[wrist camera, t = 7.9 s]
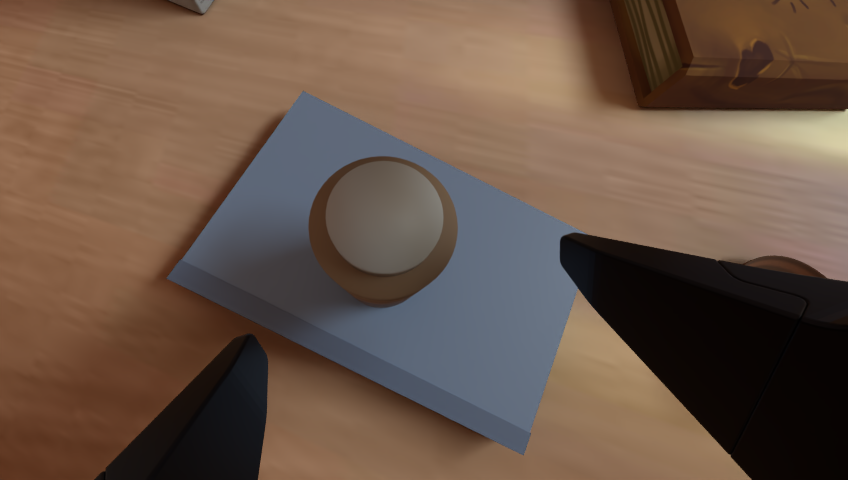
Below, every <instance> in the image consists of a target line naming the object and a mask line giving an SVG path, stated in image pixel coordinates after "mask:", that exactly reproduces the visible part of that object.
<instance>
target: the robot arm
mask: <svg viewBox="0 0 848 480" xmlns="http://www.w3.org/2000/svg"><path fill="white" fill-rule="evenodd" d="M560 263H561V265H562V267H563V269H564V270H565V271H566V273H567V274H568V275H569V277H570V278H571V279H572V281H573V282H574V283H575V285H576V286H577V287H578V289H579V290H580V291H581V293H582V294H583V295H584V297H585V298H586V299H587V301H588V302H589V303H590V304H591V306H592V307H593V308H594V309H595V310H596V311H597V312H598V314H599V315H600V316H601V317H602V318H603V319H604V320H605V321H606V322H607V323H608V324H609V325H610V327H611V328H612V329H613V330H614V331H615V332H616V333H617V334H618V335H619V336H620V337H621V338H622V340H623V341H624V342H625V343H626V344H627V345H628V346H629V347H630V348H631V349H632V350H633V351H634V352H635V354H636V355H637V356H638V357H639V358H640V359H641V360H642V361H643V362H644V363H645V364H646V365H647V367H648V368H649V369H650V370H651V371H652V372H653V373H654V374H655V375H656V376H657V377H658V378H659V380H660V381H661V382H662V383H663V384H664V385H665V386H666V387H667V388H668V389H669V390H670V391H671V392H672V394H673V395H674V396H675V397H676V398H677V399H678V400H679V401H680V402H681V403H682V404H683V405H684V407H685V408H686V409H687V410H688V411H689V412H690V413H691V414H692V415H693V416H694V417H695V418H696V420H697V421H698V422H699V423H700V424H701V425H702V426H703V427H704V428H705V429H706V430H707V431H708V432H709V434H710V435H711V436H712V437H713V438H714V439H715V440H716V441H717V442H718V443H719V444H720V445H721V447H722V448H723V449H724V450H725V451H726V452H727V453H728V454H730V455H731V458H732V459H733V460H734V461H735V462H736V463H737V464H738V465H739V466H740V467H741V468H742V470H743V471H744V472H745V473H746V474H747V475H748V476H749V477H750V478H751V479H752V480H848V282H846V281H840V280H833V279H827V278H820V277H813V276H807V275H800V274H794V273H788V272H782V271H775V270H769V269H763V268H758V267H752V266H747V265H742V264H736V263H731V262H726V261H721V260H719V261H716V260H715V259H710V258H705V257H700V256H695V255H690V254H684V253H679V252H674V251H669V250H664V249H659V248H654V247H649V246H643V245H638V244H633V243H628V242H623V241H618V240H613V239H607V238H602V237H597V236H592V235H587V234H582V233H577V232H573V233H570V234H567V235H563V236H562V237H561V239H560ZM267 384H268V358H267V355H266V353H265V351H264V350H263V348H262V347H261V345H260V344H259V342H258V340H257V339H256V337H255V336H254V335H253V334H246V335H243V336H239V337H236V338H234V339H233V340H232V341H231V342H230V343H229V344H228V345H227V346H226V347H225V348H224V349H223V350H222V351H221V352H220V353H219V354H218V355H217V356H216V357H215V358H214V359H213V360H212V361H211V362H210V363H209V364H208V365H207V366H206V367H205V368H204V369H203V370H202V371H201V373H200V374H199V375H198V376H197V377H196V378H195V379H194V380H193V381H192V382H191V383H190V384H189V385H188V386H187V387H186V388H185V389H184V390H183V391H182V392H181V393H180V394H179V395H178V396H177V397H176V398H175V399H174V400H173V401H172V402H171V403H170V404H169V405H168V406H167V407H166V408H165V409H164V410H163V411H162V412H161V413H160V414H159V415H158V416H157V417H156V418H155V419H154V420H153V421H152V422H151V423H150V424H149V425H148V426H147V427H146V428H145V429H144V430H143V431H142V432H141V433H140V434H139V435H138V436H137V437H136V438H135V439H134V440H133V441H132V442H131V443H130V444H129V445H128V446H127V447H126V448H125V449H124V450H123V451H122V452H121V453H120V454H119V455H118V456H117V457H116V458H115V459H114V460H113V461H112V462H111V463H110V464H109V465H108V466H107V467H106V471H103V472H101V473H100V474H99V475H98V476H97V477H96V478H95V479H94V480H258V474H259V467H260V460H261V453H262V446H263V439H264V432H265V425H266V415H267Z"/></svg>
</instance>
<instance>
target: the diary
mask: <svg viewBox="0 0 848 480" xmlns="http://www.w3.org/2000/svg"><path fill="white" fill-rule="evenodd" d="M610 3H611V7H612V10H613V14H614V18H615V22H616V25H617V29H618V33H619V36H620V40H621V44H622V48H623V51H624V55H625V59H626V62H627V66H628V70H629V74H630V77H631V81H632V85H633V88H634V92H635V96H636V100H637V103H638V106H643V107H707V108H804V109H848V0H610Z"/></svg>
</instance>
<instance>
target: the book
mask: <svg viewBox="0 0 848 480" xmlns="http://www.w3.org/2000/svg"><path fill="white" fill-rule="evenodd" d="M376 156H390V157H397V158H401V159H405V160H408V161H411V162H413V163H416V164H417V165H419V166H421V167H423V168H425V169H426V170H427V171H429V172H430V173H431V174H433V175H434V176H435V177H436V178H437V179H438V180H439V181H440V182H441V184H442V185H443V186H444V187H445V189H446V190H447V192H448V193H449V195H450V197H451V200H452V202H453V204H454V207H455V210H456V215H457V222H458V234H457V241H456V246H455V249H454V252H453V255H452V257H451V259H450V261H449V263H448V264H447V266H446V267H445V269H444V270H443V271H442V272H441V274H440V275H439V276H438V277H437V278H436V279H435V280H433V281H432V282H431V283H430V284H429V285H427V286H426V287H424V288H423V289H421V290H420V291H419V292H417V293H416V294H414V295H413V296H412V297H410V298H409V299H407V300H406V301H404V302H403V303H401V304H398V305H396V306H392V307H387V308H377V307H371V306H368V305H365V304H363V303H361V302H360V301H358V300H357V299H355V298H354V297H353V296H352V295H351V294H349V293H348V292H347V291H346V290H345V289H343V288H342V287H341V286H340V285H338V284H337V283H336V282H335V281H334V280H333V279H332V278H331V277H330V276H329V275H327V274H326V272H325V271H324V270H323V268H322V267H321V266H320V264H319V262H318V261H317V259H316V257H315V255H314V252H313V250H312V247H311V243H310V239H309V230H308V226H309V215H310V210H311V207H312V204H313V201H314V199H315V197H316V195H317V193H318V191H319V190H320V188H321V187H322V185H323V184H324V183H325V182H326V181H327V179H328V178H329V177H330V176H332V175H333V174H334V173H335V172H336V171H338V170H339V169H341V168H342V167H344V166H346V165H348V164H350V163H352V162H354V161H357V160H360V159H364V158H368V157H376ZM573 232H577V233H582V234H586V233H584V232H582V231H580V230H578V229H576V228H574V227H572V226H570V225H568V224H566V223H564V222H562V221H560V220H558V219H556V218H554V217H552V216H550V215H548V214H546V213H544V212H542V211H540V210H538V209H536V208H534V207H532V206H530V205H528V204H526V203H524V202H522V201H520V200H518V199H516V198H514V197H512V196H510V195H508V194H506V193H504V192H503V191H501V190H499V189H497V188H495V187H493V186H491V185H489V184H487V183H485V182H483V181H481V180H479V179H477V178H475V177H473V176H471V175H469V174H467V173H465V172H463V171H461V170H459V169H457V168H455V167H453V166H451V165H449V164H447V163H445V162H443V161H441V160H439V159H437V158H435V157H433V156H431V155H429V154H427V153H425V152H423V151H421V150H419V149H417V148H415V147H413V146H411V145H409V144H407V143H405V142H403V141H401V140H399V139H397V138H395V137H393V136H391V135H389V134H388V133H386V132H384V131H382V130H380V129H378V128H376V127H374V126H372V125H370V124H368V123H366V122H364V121H362V120H360V119H358V118H356V117H354V116H352V115H350V114H348V113H346V112H344V111H342V110H340V109H338V108H336V107H334V106H332V105H330V104H328V103H326V102H324V101H322V100H320V99H318V98H316V97H314V96H312V95H310V94H308V93H306V92H304V91H303V92H302V93H301V94H300V96H299V97H298V99H297V100H296V101H295V103H294V104H293V106H292V107H291V108H290V110H289V111H288V113H287V114H286V115H285V117H284V118H283V119H282V121H281V122H280V124H279V125H278V126H277V128H276V129H275V131H274V132H273V133H272V135H271V136H270V138H269V139H268V140H267V142H266V143H265V145H264V146H263V147H262V149H261V150H260V151H259V153H258V154H257V156H256V157H255V158H254V160H253V161H252V163H251V164H250V165H249V167H248V168H247V170H246V171H245V172H244V174H243V175H242V177H241V178H240V179H239V181H238V182H237V183H236V185H235V186H234V188H233V189H232V190H231V192H230V193H229V195H228V196H227V197H226V199H225V200H224V202H223V203H222V204H221V206H220V207H219V209H218V210H217V211H216V213H215V214H214V215H213V217H212V218H211V220H210V221H209V222H208V224H207V225H206V227H205V228H204V229H203V231H202V232H201V234H200V235H199V236H198V238H197V239H196V241H195V242H194V243H193V245H192V246H191V247H190V249H189V250H188V252H187V253H186V254H185V256H184V257H183V259H182V260H181V259H180V260H179V262H178V263H177V265H176V266H175V267H174V269H173V270H172V271H171V273H170V274H169V276H168V277H167V278H166V279H168V280H170V281H173V282H175V283H177V284H179V285H181V286H183V287H185V288H187V289H189V290H191V291H193V292H195V293H197V294H199V295H201V296H203V297H205V298H207V299H209V300H211V301H213V302H215V303H217V304H219V305H221V306H223V307H225V308H227V309H229V310H231V311H233V312H235V313H237V314H239V315H241V316H243V317H245V318H247V319H249V320H251V321H253V322H255V323H257V324H259V325H261V326H263V327H265V328H267V329H269V330H271V331H273V332H275V333H277V334H279V335H281V336H284V337H286V338H288V339H290V340H292V341H294V342H296V343H298V344H300V345H302V346H304V347H306V348H308V349H310V350H312V351H314V352H316V353H318V354H320V355H322V356H324V357H326V358H328V359H330V360H332V361H334V362H336V363H338V364H340V365H342V366H344V367H346V368H348V369H350V370H352V371H354V372H356V373H358V374H360V375H362V376H364V377H366V378H368V379H370V380H372V381H374V382H376V383H378V384H380V385H382V386H384V387H386V388H388V389H390V390H392V391H394V392H397V393H399V394H401V395H403V396H405V397H407V398H409V399H411V400H413V401H415V402H417V403H419V404H421V405H423V406H425V407H427V408H429V409H431V410H433V411H435V412H437V413H439V414H441V415H443V416H445V417H447V418H449V419H451V420H453V421H455V422H457V423H459V424H461V425H463V426H465V427H467V428H469V429H471V430H473V431H475V432H477V433H479V434H481V435H483V436H485V437H487V438H489V439H491V440H493V441H495V442H497V443H499V444H501V445H503V446H505V447H508V448H510V449H512V450H514V451H516V452H518V453H520V454H522V455H524V453H525V450H526V447H527V444H528V441H529V438H530V435H531V433H530V430H531V427H532V424H533V421H534V418H535V415H536V412H537V409H538V406H539V403H540V400H541V397H542V394H543V391H544V388H545V385H546V382H547V379H548V376H549V373H550V370H551V367H552V364H553V361H554V358H555V355H556V352H557V349H558V346H559V343H560V340H561V337H562V334H563V331H564V328H565V325H566V322H567V319H568V316H569V313H570V310H571V307H572V304H573V301H574V298H575V295H576V292H577V289H578V287H577V286H576V285H575V283H574V282H573V281H572V279H571V278H570V277H569V275H568V274H567V273H566V271H565V270H564V269H563V267H562V265H561V263H560V239H561V237H562V236H563V235H567V234H570V233H573ZM587 235H588V234H587Z"/></svg>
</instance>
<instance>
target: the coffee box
mask: <svg viewBox="0 0 848 480" xmlns="http://www.w3.org/2000/svg"><path fill="white" fill-rule="evenodd" d="M169 1H171V2H174V3H176V4H179V5H181V6H183V7H186V8H188V9H191V10H193V11H196V12H198V13H201V14H203V13H205V12H206V10H207V9H208V8H209V6H210V5H211V3H212V2H213V1H214V0H169Z"/></svg>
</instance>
